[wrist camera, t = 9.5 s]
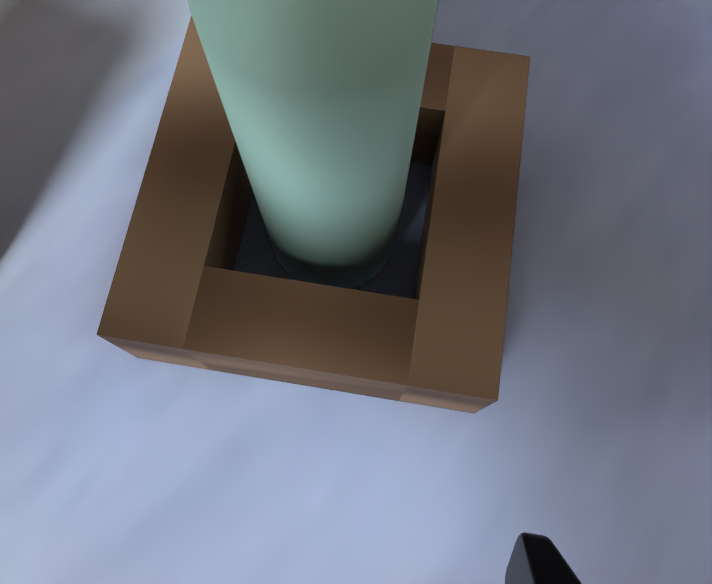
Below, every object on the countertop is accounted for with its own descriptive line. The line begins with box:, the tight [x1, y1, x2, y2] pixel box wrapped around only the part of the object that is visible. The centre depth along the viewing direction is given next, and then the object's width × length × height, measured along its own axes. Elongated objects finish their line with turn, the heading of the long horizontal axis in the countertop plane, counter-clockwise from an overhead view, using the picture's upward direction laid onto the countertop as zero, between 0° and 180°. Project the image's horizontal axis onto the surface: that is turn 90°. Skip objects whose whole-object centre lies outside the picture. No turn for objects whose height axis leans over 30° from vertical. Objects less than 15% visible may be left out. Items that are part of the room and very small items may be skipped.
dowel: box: [188, 0, 439, 288], centre depth 14 cm, size 4×4×10 cm
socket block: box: [97, 16, 530, 413], centre depth 18 cm, size 10×10×3 cm
